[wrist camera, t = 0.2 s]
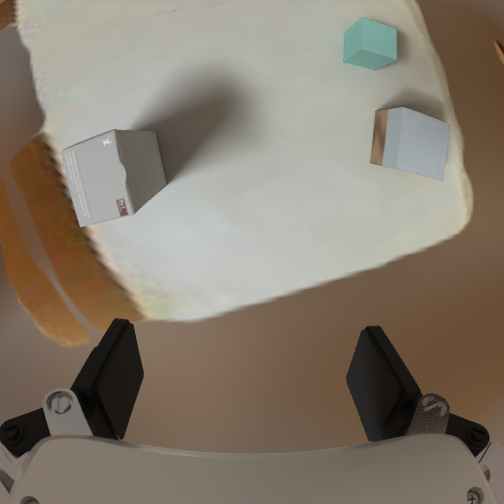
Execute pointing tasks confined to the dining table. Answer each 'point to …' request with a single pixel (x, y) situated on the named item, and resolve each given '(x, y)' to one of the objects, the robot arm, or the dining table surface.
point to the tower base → (379, 137)
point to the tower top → (416, 143)
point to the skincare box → (113, 174)
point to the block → (370, 44)
